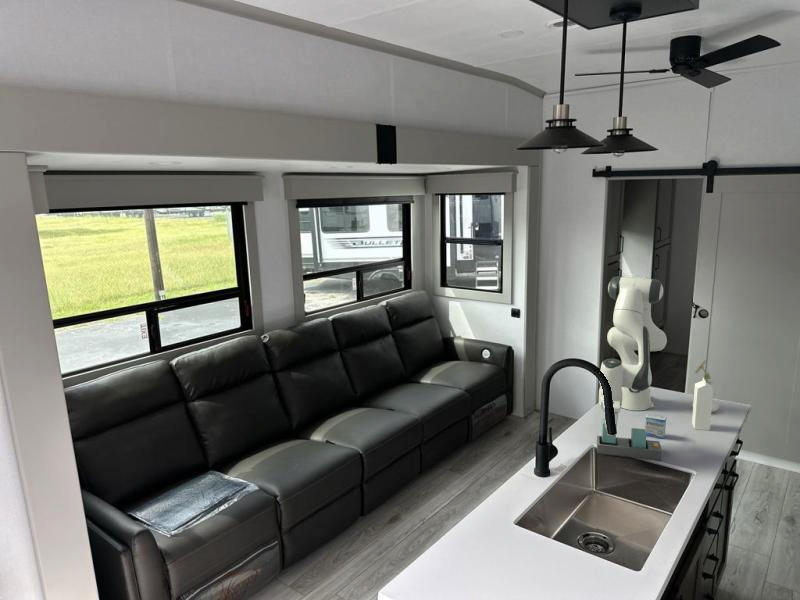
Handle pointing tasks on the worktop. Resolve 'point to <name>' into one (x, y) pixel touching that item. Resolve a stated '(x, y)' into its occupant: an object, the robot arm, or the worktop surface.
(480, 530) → the worktop surface
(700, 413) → the milk
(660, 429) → the medicine box
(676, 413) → the worktop surface
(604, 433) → the teal rectangular block
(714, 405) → the flower in vase
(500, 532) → the worktop surface
